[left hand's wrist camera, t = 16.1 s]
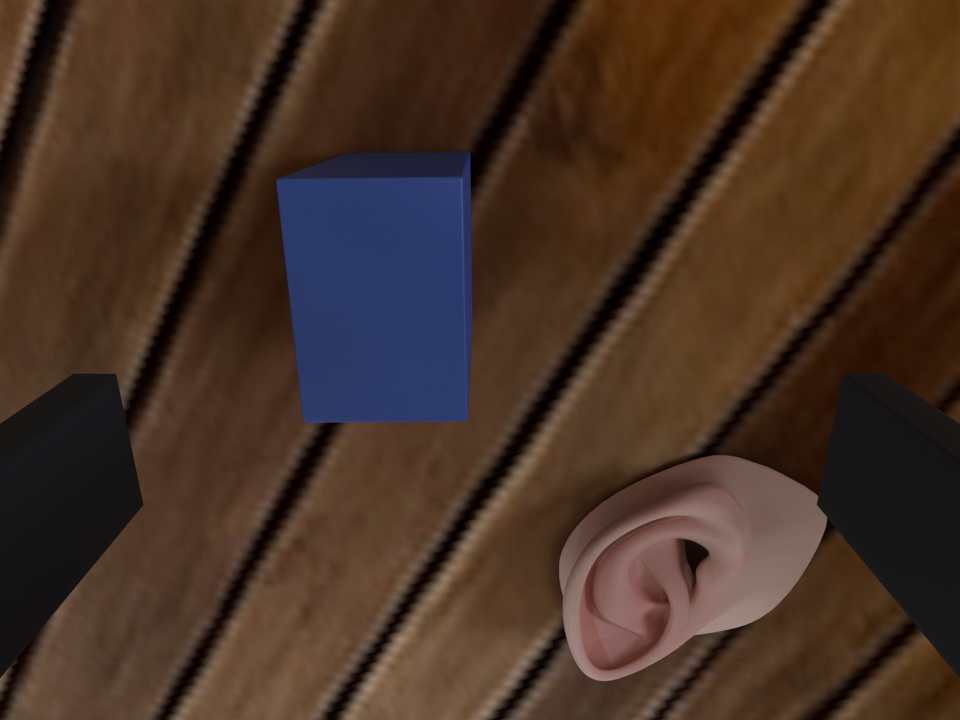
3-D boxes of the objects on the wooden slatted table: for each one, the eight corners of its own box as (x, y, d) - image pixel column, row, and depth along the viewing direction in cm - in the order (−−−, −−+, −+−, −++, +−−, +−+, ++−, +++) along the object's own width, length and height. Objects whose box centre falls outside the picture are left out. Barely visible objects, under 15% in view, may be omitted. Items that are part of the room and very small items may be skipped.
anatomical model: (885, 503, 29) (827, 704, 33) (840, 457, 33) (793, 643, 37) (578, 492, 29) (557, 695, 33) (567, 448, 33) (550, 635, 37)
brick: (470, 151, 28) (463, 176, 19) (472, 323, 31) (467, 422, 21) (345, 152, 28) (274, 178, 19) (358, 324, 31) (303, 423, 21)
